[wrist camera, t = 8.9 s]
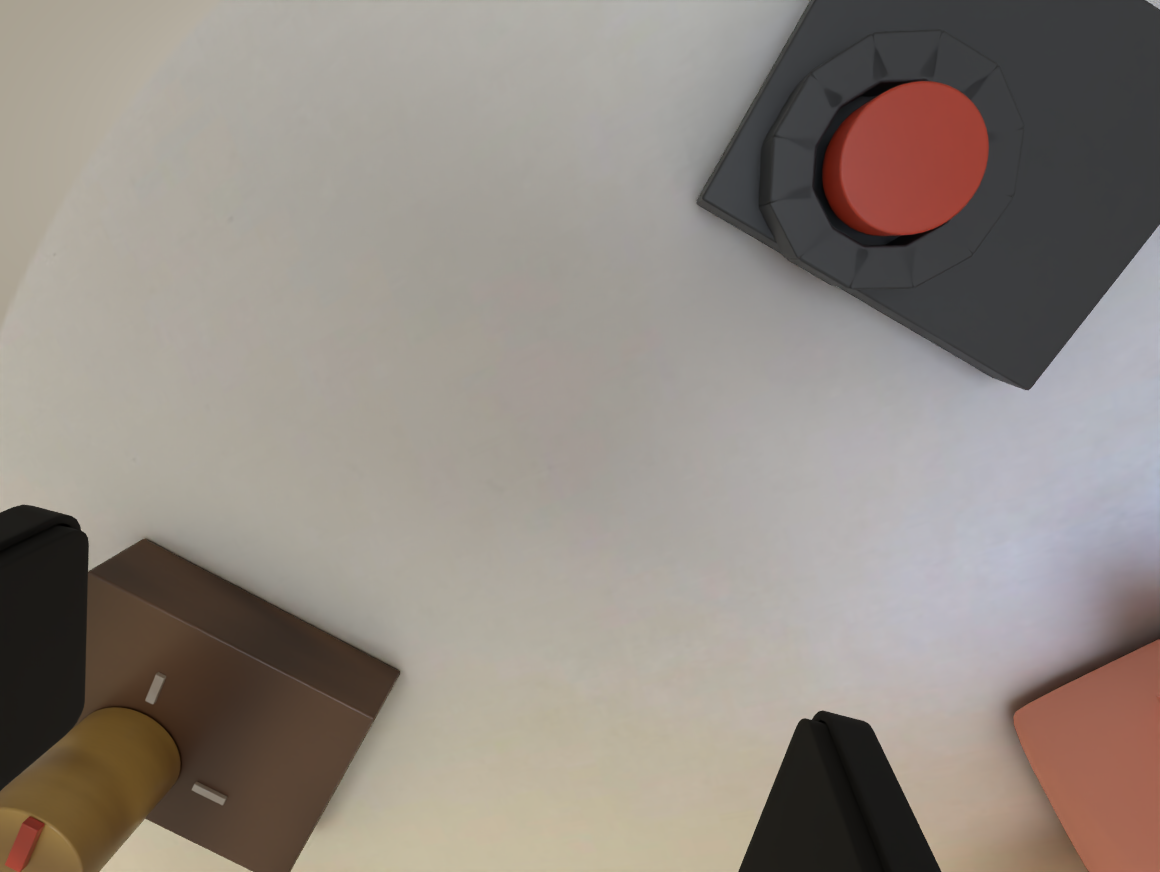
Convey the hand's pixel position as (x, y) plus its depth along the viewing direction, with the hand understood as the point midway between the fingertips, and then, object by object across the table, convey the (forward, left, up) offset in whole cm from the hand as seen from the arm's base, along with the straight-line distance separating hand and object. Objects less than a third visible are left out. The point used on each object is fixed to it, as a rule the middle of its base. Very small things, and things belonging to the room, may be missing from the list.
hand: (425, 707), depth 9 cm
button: (+4, +11, -13) cm, 18 cm away
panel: (-7, -19, -17) cm, 26 cm away
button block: (+6, +13, -17) cm, 22 cm away
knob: (-8, -21, -14) cm, 26 cm away
